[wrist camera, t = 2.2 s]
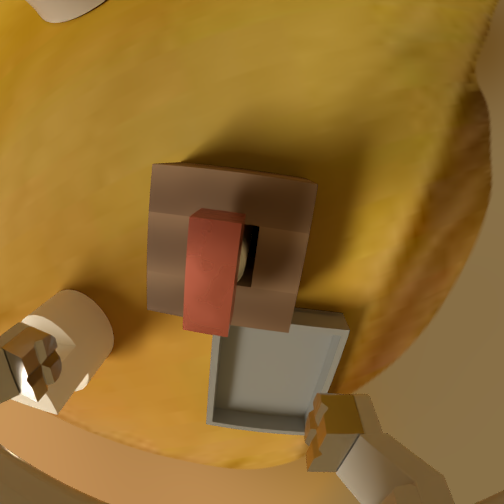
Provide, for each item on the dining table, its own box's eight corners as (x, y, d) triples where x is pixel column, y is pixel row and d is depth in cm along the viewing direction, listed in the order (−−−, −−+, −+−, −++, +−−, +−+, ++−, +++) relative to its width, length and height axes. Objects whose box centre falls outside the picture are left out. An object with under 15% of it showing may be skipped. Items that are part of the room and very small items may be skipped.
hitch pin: (220, 191, 23) (183, 215, 13) (257, 196, 23) (248, 224, 13) (212, 262, 25) (177, 328, 15) (247, 268, 25) (233, 338, 15)
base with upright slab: (99, 288, 27) (25, 354, 15) (124, 361, 29) (75, 439, 18) (40, 290, 28) (-29, 341, 16) (66, 356, 30) (14, 417, 19)
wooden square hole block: (180, 162, 23) (152, 163, 17) (306, 178, 23) (318, 184, 17) (171, 278, 26) (147, 309, 20) (285, 295, 26) (288, 332, 20)
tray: (220, 296, 26) (214, 313, 23) (342, 313, 26) (350, 330, 23) (210, 404, 30) (206, 423, 27) (307, 416, 30) (309, 435, 27)
